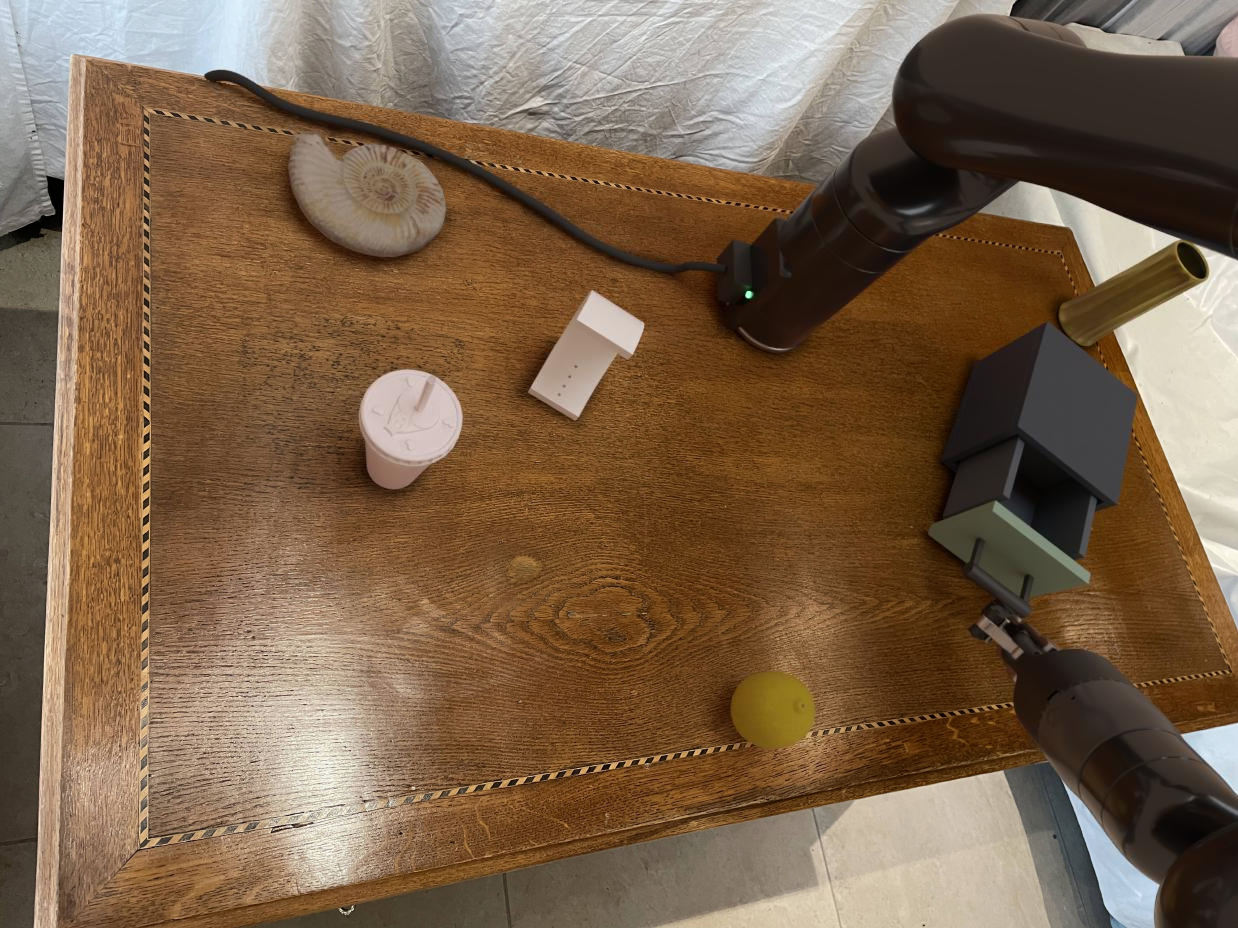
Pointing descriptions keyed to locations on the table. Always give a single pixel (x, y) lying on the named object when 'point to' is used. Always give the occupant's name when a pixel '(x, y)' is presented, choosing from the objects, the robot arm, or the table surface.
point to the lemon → (772, 709)
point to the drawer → (1017, 523)
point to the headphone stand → (585, 354)
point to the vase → (1133, 292)
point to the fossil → (366, 196)
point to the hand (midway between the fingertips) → (993, 610)
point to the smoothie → (407, 425)
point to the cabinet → (1049, 410)
